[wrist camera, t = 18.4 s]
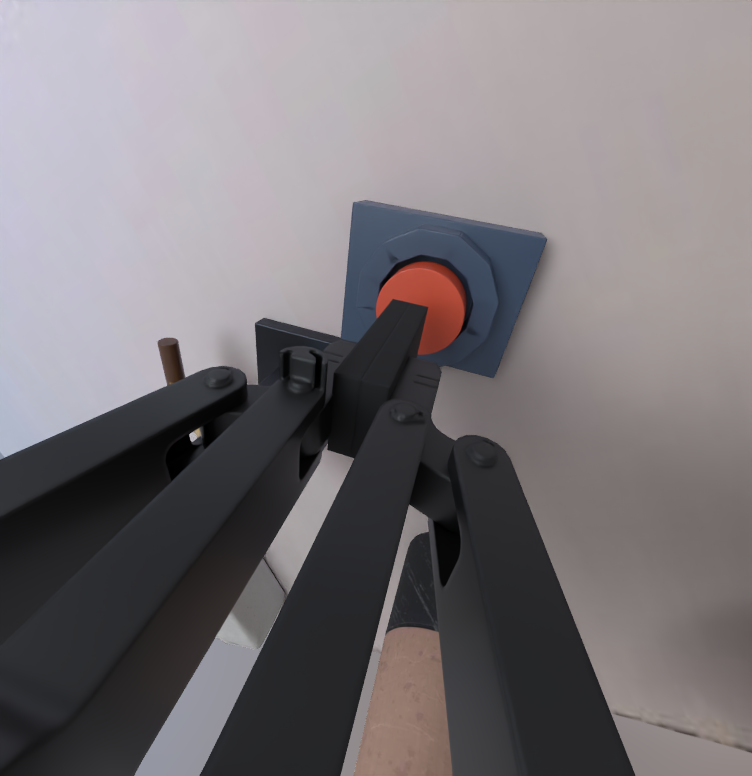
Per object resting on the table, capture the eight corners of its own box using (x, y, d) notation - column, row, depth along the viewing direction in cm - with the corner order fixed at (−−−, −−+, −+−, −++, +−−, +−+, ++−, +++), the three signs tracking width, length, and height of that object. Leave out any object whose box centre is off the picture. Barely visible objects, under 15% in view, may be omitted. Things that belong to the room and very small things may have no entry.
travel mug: (398, 527, 34) (310, 854, 18) (478, 531, 31) (463, 926, 15) (415, 576, 37) (354, 889, 21) (489, 584, 34) (486, 954, 18)
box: (208, 463, 38) (45, 473, 50) (152, 522, 32) (-20, 516, 43) (292, 590, 48) (139, 573, 60) (262, 654, 42) (98, 620, 54)
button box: (542, 233, 18) (552, 244, 15) (493, 362, 23) (494, 393, 20) (365, 200, 20) (340, 204, 17) (351, 327, 24) (329, 350, 21)
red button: (477, 270, 17) (476, 279, 15) (454, 350, 19) (451, 364, 18) (391, 252, 18) (382, 259, 16) (379, 331, 20) (370, 343, 19)
